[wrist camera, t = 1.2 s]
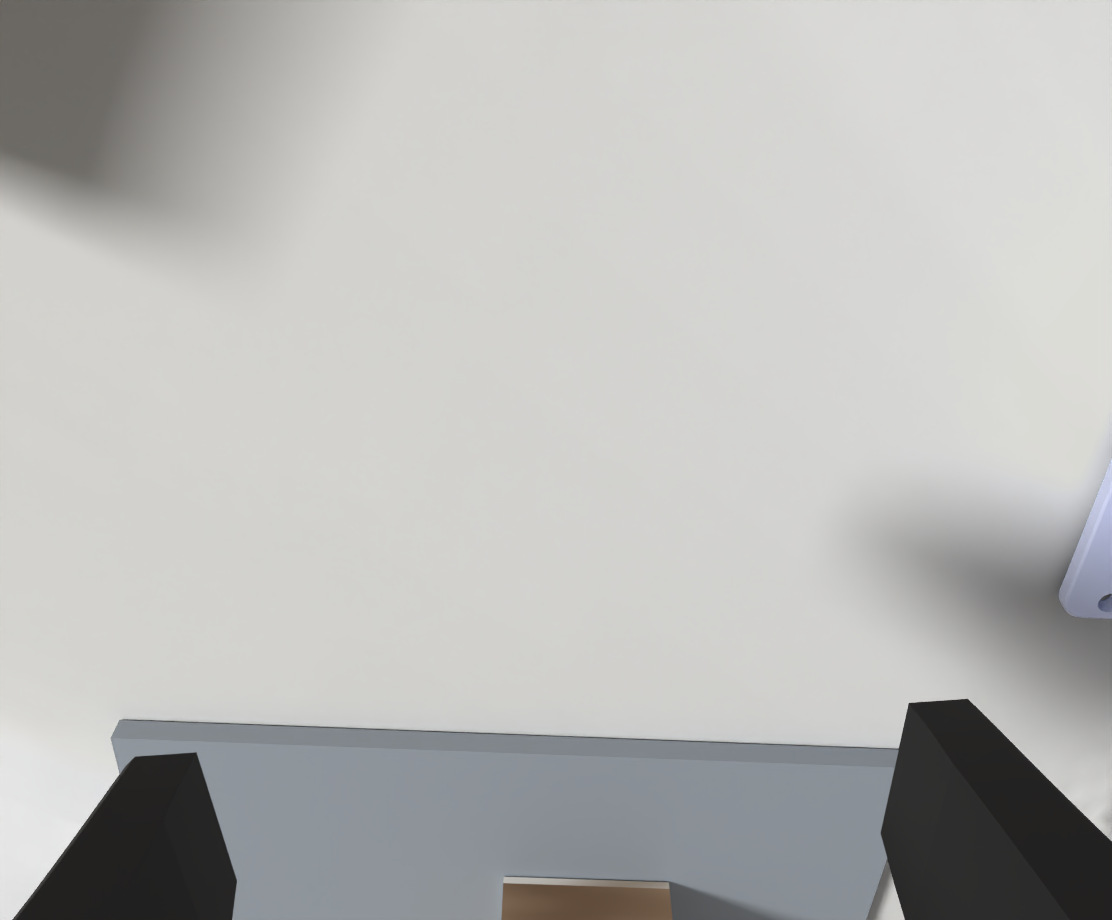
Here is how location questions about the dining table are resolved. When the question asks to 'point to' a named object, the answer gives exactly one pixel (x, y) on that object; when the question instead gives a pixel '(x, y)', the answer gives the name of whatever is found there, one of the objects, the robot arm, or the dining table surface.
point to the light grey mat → (530, 819)
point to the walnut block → (584, 899)
